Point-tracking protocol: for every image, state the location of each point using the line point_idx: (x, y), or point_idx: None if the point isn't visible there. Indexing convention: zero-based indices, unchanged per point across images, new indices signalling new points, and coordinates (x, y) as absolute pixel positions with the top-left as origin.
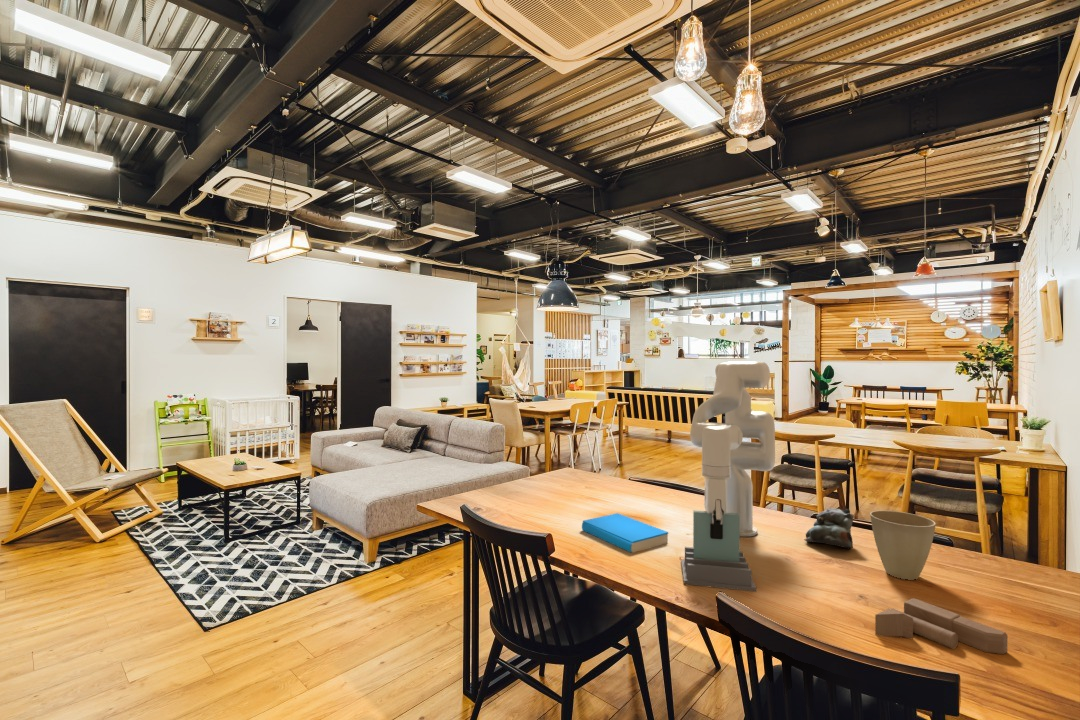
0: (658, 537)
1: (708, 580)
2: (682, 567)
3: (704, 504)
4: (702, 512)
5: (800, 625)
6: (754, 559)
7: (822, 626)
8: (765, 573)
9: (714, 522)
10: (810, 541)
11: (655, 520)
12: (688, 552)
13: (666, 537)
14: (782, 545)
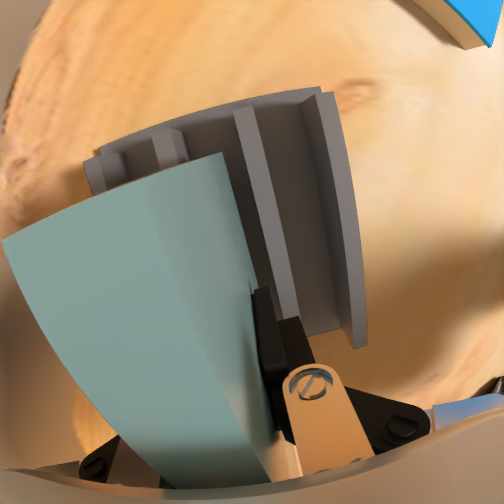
0: (448, 8)
1: None
2: (225, 105)
3: (466, 468)
4: (112, 420)
5: (86, 408)
6: (424, 323)
7: (110, 431)
8: (331, 363)
9: (119, 436)
10: (495, 386)
11: None
12: (251, 120)
13: (474, 42)
14: (494, 350)
